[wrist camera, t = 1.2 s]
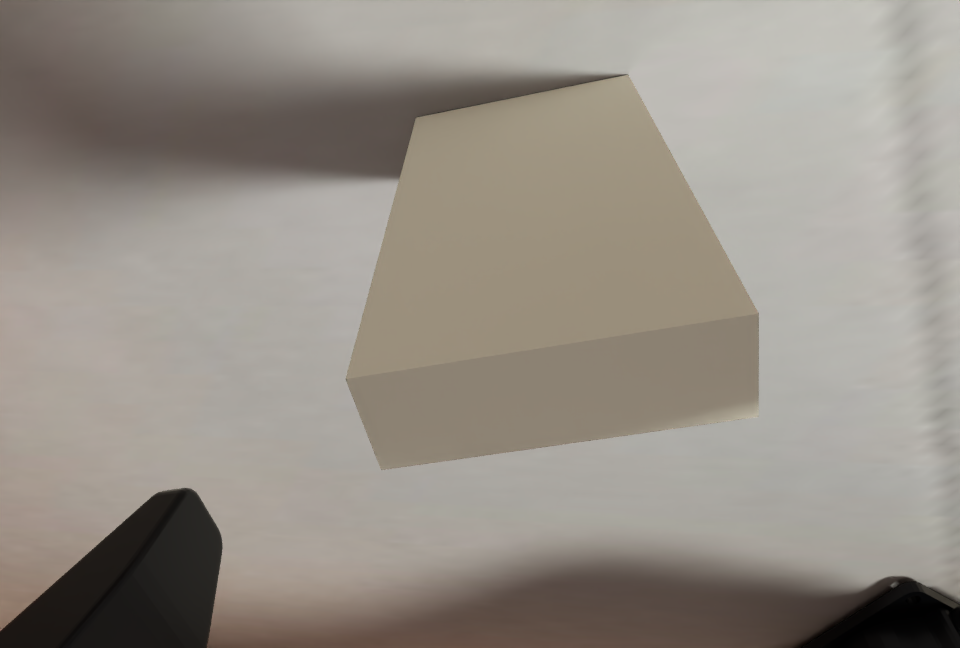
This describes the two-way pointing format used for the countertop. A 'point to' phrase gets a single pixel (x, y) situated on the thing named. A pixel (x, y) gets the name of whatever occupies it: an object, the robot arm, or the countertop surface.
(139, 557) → the robot arm
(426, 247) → the domino
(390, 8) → the countertop surface
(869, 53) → the countertop surface
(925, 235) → the countertop surface
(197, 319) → the countertop surface
